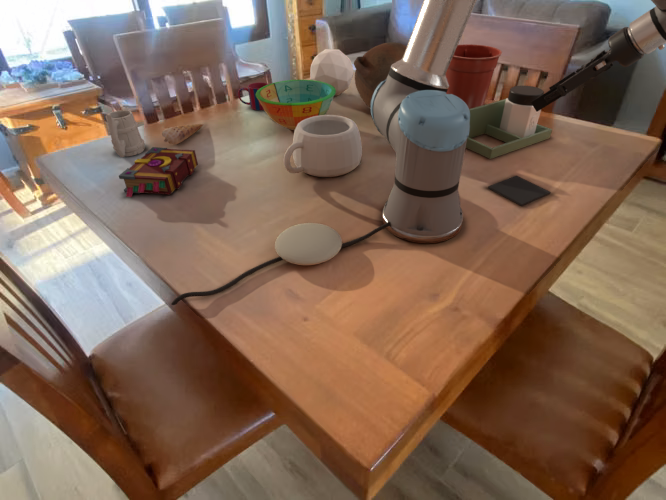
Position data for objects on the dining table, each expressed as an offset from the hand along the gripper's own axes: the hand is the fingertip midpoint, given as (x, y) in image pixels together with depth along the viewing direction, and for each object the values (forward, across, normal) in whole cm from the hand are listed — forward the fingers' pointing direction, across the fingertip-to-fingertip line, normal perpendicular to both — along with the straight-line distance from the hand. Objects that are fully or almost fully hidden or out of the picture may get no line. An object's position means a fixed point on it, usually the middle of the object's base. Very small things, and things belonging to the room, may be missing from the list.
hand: (543, 99), depth 107 cm
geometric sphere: (+55, -1, +40) cm, 68 cm away
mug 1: (+64, -70, +50) cm, 107 cm away
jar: (+11, 0, -4) cm, 12 cm away
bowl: (+48, -29, +33) cm, 65 cm away
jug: (+35, -8, +20) cm, 41 cm away
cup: (+64, -26, +49) cm, 84 cm away
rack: (+12, -5, -3) cm, 13 cm away
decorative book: (+50, -73, +35) cm, 95 cm away
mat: (+3, -29, -12) cm, 32 cm away
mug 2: (+32, -46, +17) cm, 59 cm away
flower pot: (+26, +14, +11) cm, 31 cm away
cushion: (+18, -72, +3) cm, 74 cm away
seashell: (+62, -54, +47) cm, 95 cm away
